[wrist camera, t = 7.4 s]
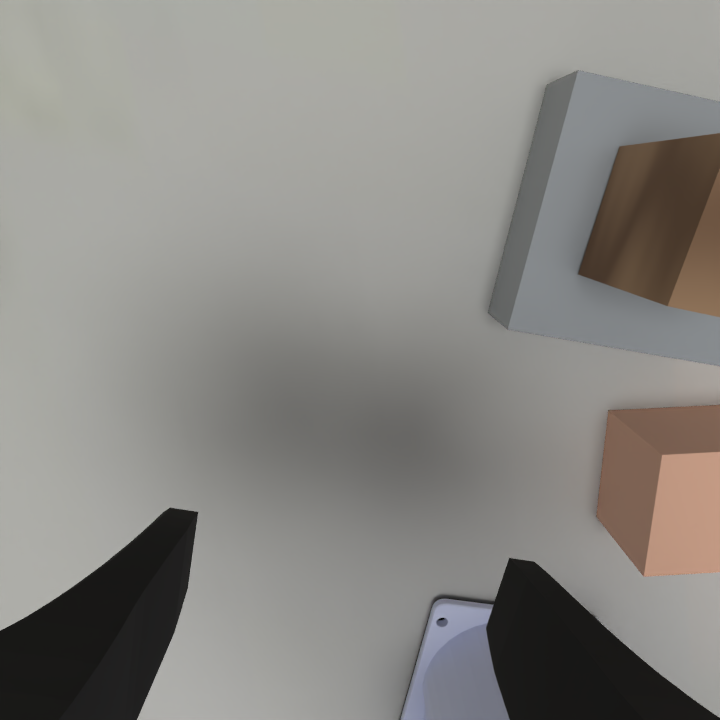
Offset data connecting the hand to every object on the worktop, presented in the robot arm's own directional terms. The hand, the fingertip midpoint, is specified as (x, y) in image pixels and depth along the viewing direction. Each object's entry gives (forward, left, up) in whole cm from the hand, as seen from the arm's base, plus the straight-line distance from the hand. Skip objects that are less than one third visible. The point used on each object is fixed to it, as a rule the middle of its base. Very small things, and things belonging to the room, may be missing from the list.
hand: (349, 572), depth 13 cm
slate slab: (+9, -9, -10) cm, 16 cm away
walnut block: (+9, -8, -7) cm, 14 cm away
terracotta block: (0, -14, -10) cm, 17 cm away
